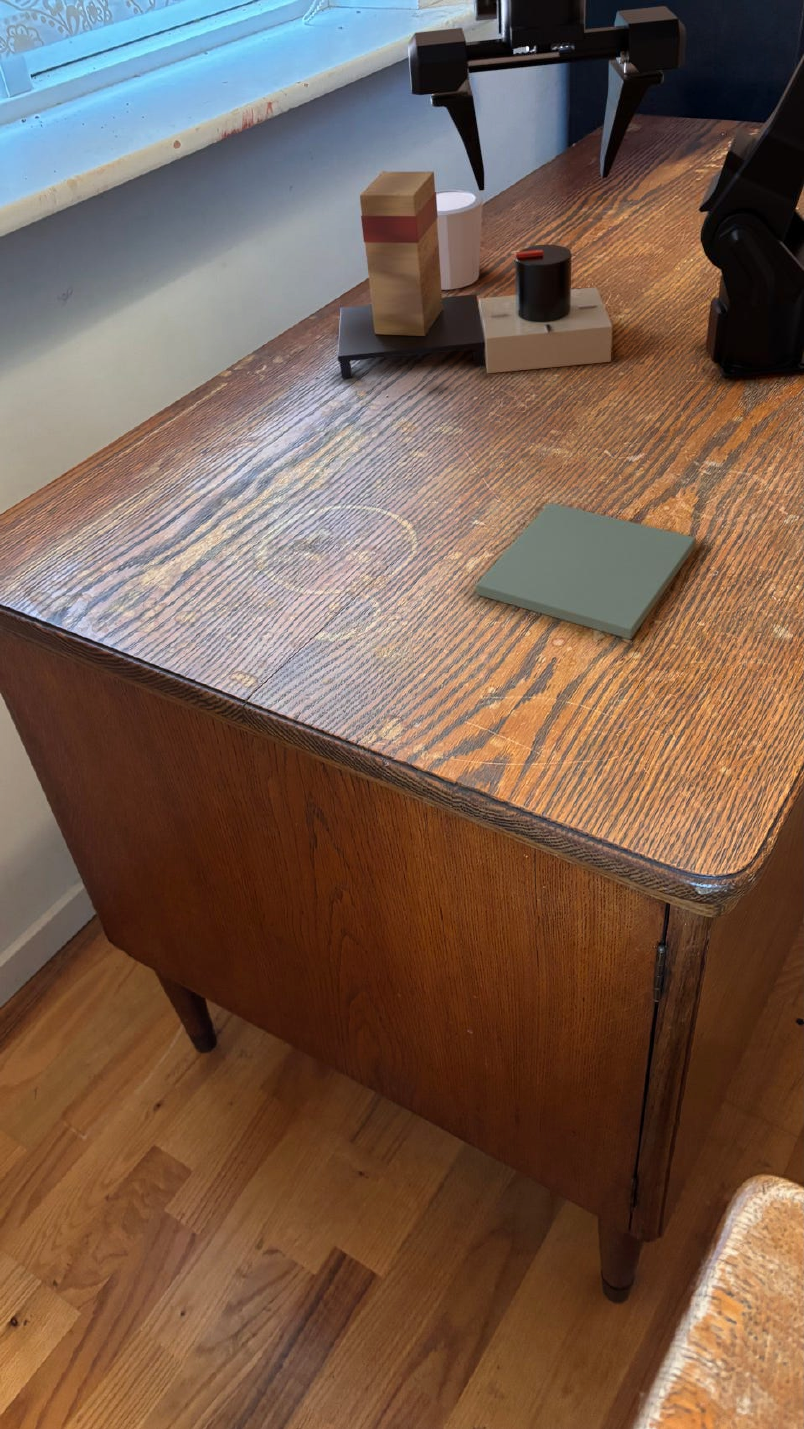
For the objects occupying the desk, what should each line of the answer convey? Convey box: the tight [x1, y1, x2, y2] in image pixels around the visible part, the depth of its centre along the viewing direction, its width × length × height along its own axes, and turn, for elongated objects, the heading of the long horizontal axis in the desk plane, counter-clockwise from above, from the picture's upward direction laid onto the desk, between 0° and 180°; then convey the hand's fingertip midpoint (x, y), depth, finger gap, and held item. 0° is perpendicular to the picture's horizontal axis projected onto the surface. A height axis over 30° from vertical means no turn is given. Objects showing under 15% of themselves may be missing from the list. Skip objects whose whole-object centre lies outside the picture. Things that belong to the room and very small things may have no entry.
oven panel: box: [478, 286, 614, 374], centre depth 87 cm, size 10×9×3 cm
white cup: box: [435, 189, 484, 290], centre depth 98 cm, size 7×7×7 cm
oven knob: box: [514, 244, 572, 322], centre depth 84 cm, size 4×4×5 cm
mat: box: [475, 502, 697, 640], centre depth 64 cm, size 10×10×1 cm
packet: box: [359, 171, 443, 336], centre depth 85 cm, size 4×6×11 cm
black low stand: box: [337, 294, 485, 379], centre depth 89 cm, size 12×10×2 cm
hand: (542, 183), depth 79 cm, fingers open, 9 cm apart
